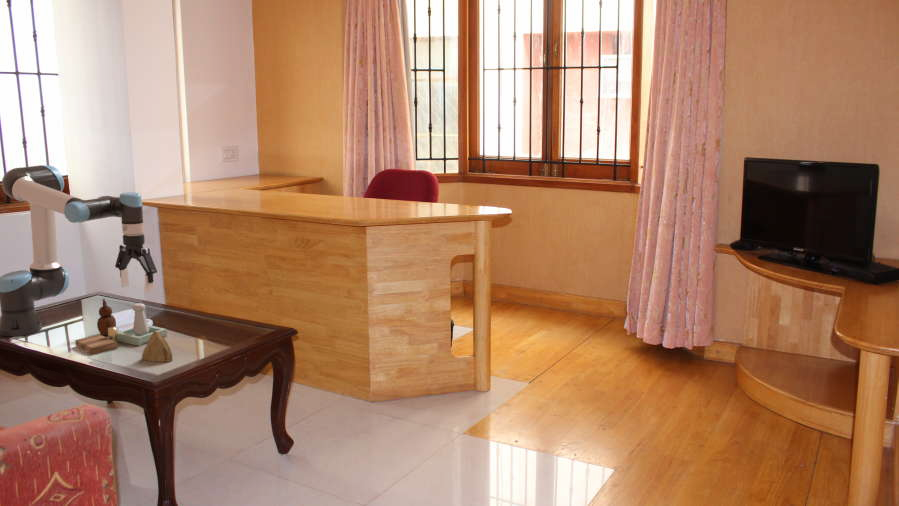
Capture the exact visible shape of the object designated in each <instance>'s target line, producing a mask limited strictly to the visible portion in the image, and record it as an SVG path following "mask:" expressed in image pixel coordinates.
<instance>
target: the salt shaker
mask: <svg viewBox="0 0 899 506" xmlns="http://www.w3.org/2000/svg"><path fill="white" fill-rule="evenodd" d="M145 309H146V306H145V304H144V303H142V302H141V303H140V302H139V303H134V304H133V306H132V310H133V311H134V318H133V326H132V328H133V333H134V334H135V336H139V337H140V336H143V335H146V334H148V333H149V327H148V325H149V324H148V321H147V317H146V314H145Z"/></svg>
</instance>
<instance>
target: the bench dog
mask: <svg viewBox="0 0 899 506" xmlns="http://www.w3.org/2000/svg"><path fill="white" fill-rule="evenodd" d="M117 332H118V330H117V326H116V327H109V328H108V336H107V338H109V339H111V340H113V341H115V342H117V344H118V342H119V341H117Z"/></svg>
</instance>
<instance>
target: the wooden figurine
mask: <svg viewBox="0 0 899 506" xmlns="http://www.w3.org/2000/svg"><path fill="white" fill-rule="evenodd" d="M112 314H113V310H112V307H111V306H108V304H107V301H106V299H105V298H102V306H100V308H99V309H98V316H99V318H98V319H97V323H96V325H97V326H96V327H97V330H98V332H99V333H100V334H99V335H102V336H104V337H108V328H109V327H116V328H117V322H116V321H117V319H115V318H116V317H115V316H114V315H112Z"/></svg>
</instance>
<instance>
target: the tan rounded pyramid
mask: <svg viewBox="0 0 899 506" xmlns="http://www.w3.org/2000/svg"><path fill="white" fill-rule="evenodd" d="M140 359H141V361H146V362H159V363H160V362H164V363H165V362H166V363H168V362H171V361H173V352H172V351H171V348H170V345H169V344H168V342H167V340H166V339H165V337H164V338H163V336H162V335H161V334H160V333H159V332H156V331H154V332H153V334H152V335H151V337H150V339H149V341H148V343H147V344H145V347H144V349H143V352H142V355H141V358H140Z"/></svg>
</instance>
